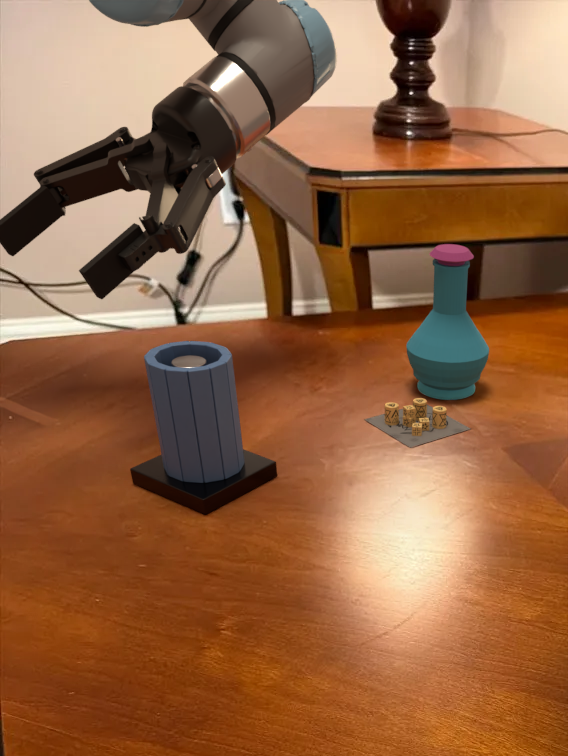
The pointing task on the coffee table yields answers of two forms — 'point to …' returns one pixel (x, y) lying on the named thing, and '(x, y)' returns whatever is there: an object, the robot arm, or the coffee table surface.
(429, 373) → the perfume bottle
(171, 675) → the coffee table surface
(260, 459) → the peg on square base
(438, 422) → the dice set
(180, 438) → the blue sleeve
